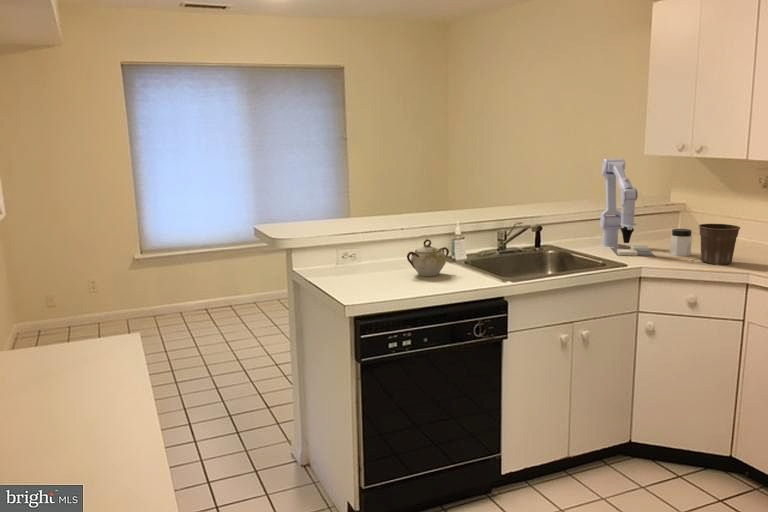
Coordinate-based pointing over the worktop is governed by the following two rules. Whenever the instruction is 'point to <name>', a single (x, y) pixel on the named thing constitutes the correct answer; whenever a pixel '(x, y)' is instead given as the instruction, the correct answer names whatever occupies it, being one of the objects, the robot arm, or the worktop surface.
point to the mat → (640, 253)
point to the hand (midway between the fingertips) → (626, 242)
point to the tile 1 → (627, 252)
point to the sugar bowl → (428, 259)
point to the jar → (681, 242)
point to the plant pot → (718, 243)
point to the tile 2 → (640, 248)
